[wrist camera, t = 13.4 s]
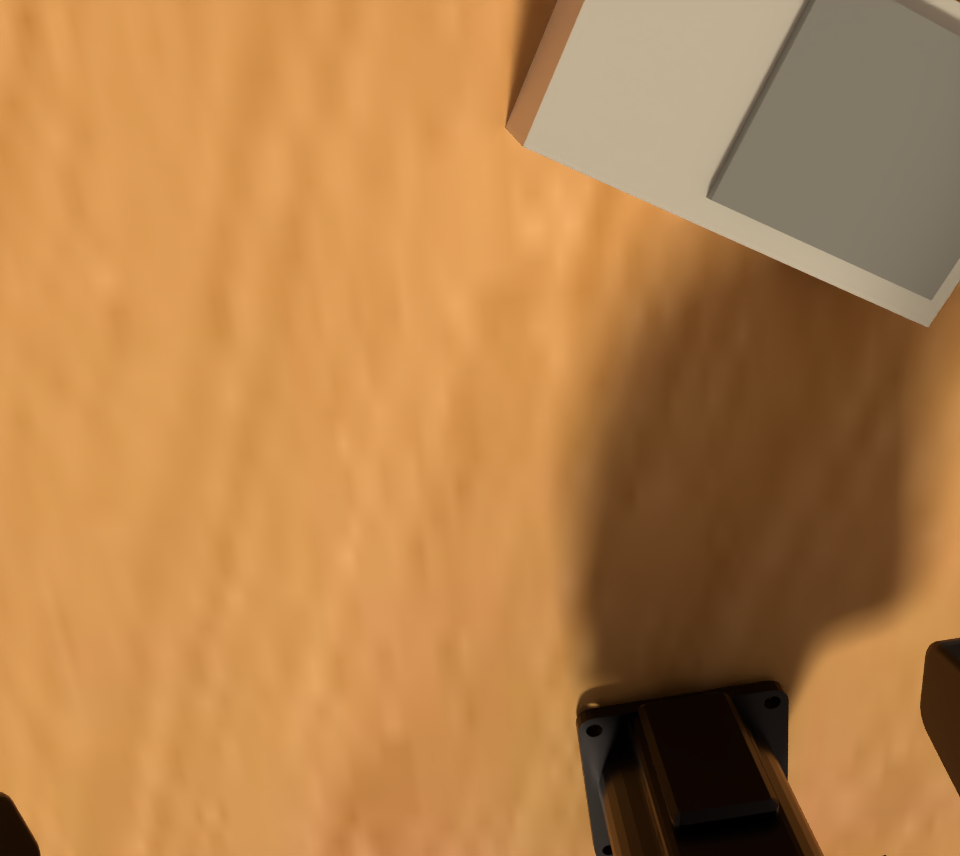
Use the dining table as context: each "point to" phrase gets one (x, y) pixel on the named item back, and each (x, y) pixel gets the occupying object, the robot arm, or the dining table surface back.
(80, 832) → the dining table surface
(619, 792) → the robot arm
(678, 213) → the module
